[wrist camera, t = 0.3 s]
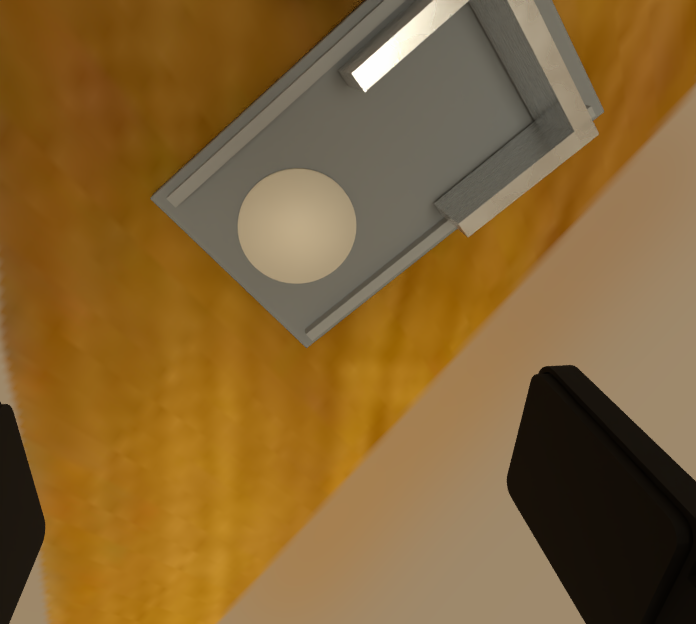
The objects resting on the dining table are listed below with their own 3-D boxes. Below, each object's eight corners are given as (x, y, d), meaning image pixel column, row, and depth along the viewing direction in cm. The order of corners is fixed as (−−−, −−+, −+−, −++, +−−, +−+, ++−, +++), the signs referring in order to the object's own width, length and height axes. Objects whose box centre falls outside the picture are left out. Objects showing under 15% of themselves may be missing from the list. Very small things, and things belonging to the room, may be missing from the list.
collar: (466, -46, 31) (503, -62, 26) (556, 123, 36) (599, 134, 32) (337, 70, 32) (351, 73, 28) (442, 215, 38) (467, 237, 34)
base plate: (487, -113, 31) (502, -122, 29) (594, 109, 38) (611, 112, 36) (153, 194, 35) (148, 201, 34) (305, 340, 43) (307, 353, 41)
